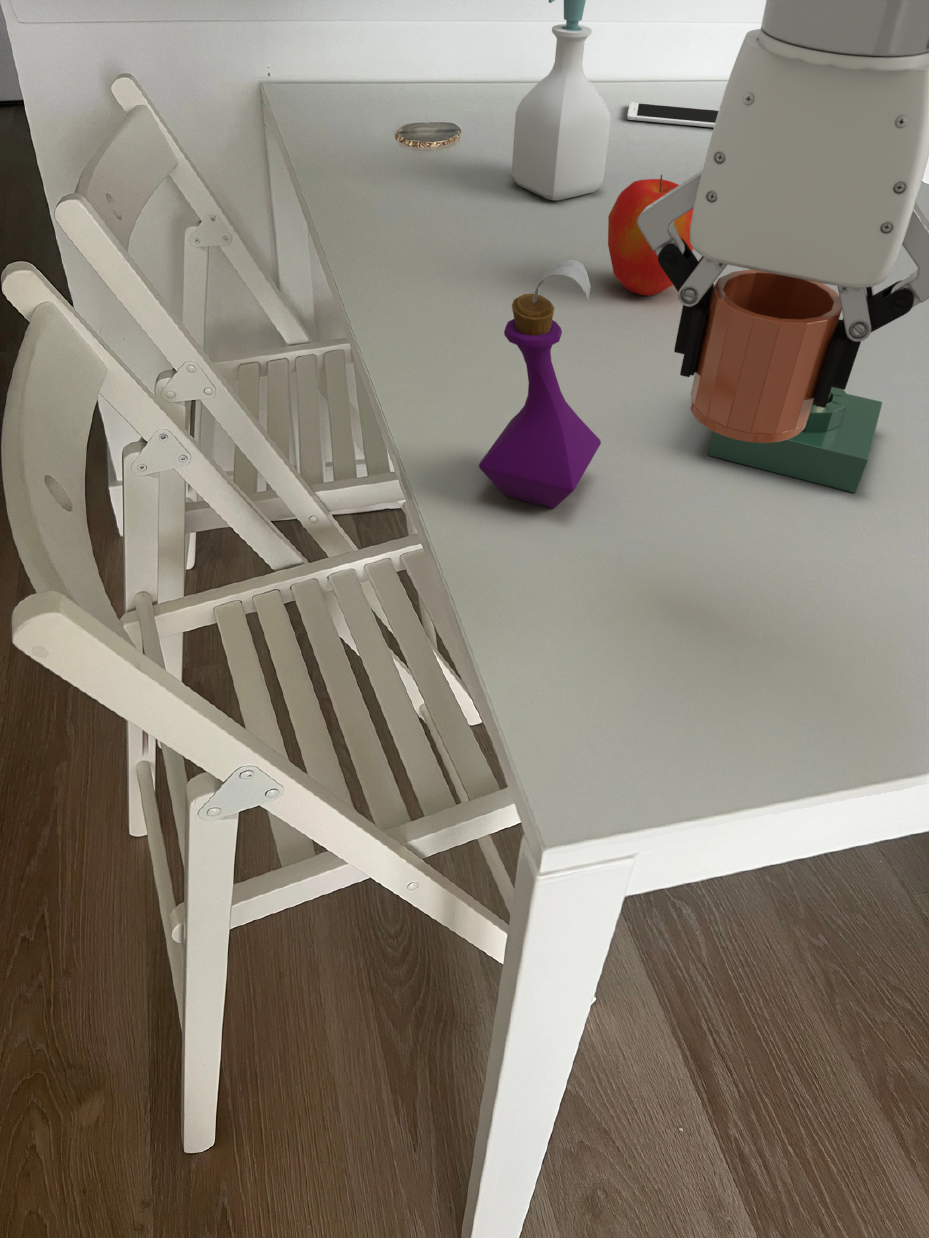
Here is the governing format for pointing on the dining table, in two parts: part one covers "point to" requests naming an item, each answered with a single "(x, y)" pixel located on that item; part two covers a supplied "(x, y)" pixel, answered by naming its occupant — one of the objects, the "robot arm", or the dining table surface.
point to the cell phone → (672, 114)
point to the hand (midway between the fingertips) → (756, 378)
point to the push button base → (815, 444)
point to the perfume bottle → (541, 411)
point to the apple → (640, 237)
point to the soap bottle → (562, 122)
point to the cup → (762, 355)
